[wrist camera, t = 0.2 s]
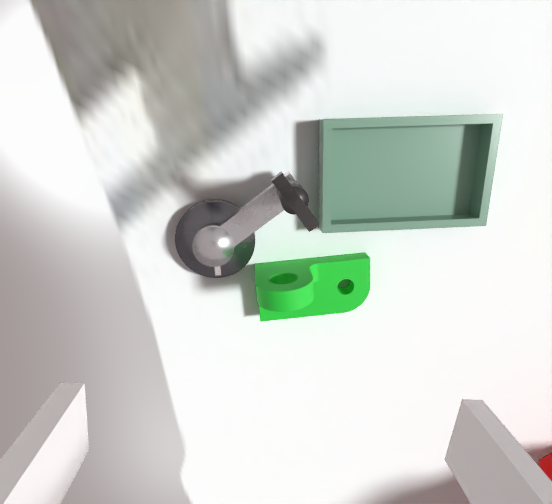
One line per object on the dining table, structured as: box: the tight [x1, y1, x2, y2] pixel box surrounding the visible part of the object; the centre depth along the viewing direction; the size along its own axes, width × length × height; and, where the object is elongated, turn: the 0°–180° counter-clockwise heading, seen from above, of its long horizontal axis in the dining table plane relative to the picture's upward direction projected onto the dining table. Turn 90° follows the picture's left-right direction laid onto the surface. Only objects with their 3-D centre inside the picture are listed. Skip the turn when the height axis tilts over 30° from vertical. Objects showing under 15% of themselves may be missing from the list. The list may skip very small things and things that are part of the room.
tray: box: [319, 114, 503, 233], centre depth 37 cm, size 11×17×2 cm, turn 92°
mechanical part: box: [255, 253, 370, 321], centre depth 38 cm, size 12×6×8 cm, turn 95°
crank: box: [192, 171, 320, 267], centre depth 33 cm, size 12×5×8 cm, turn 127°
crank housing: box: [175, 200, 255, 278], centre depth 38 cm, size 8×8×1 cm
